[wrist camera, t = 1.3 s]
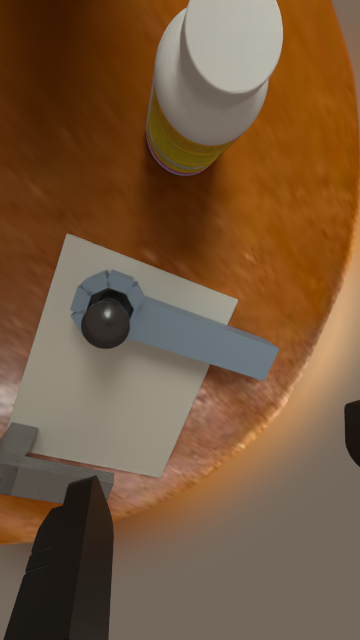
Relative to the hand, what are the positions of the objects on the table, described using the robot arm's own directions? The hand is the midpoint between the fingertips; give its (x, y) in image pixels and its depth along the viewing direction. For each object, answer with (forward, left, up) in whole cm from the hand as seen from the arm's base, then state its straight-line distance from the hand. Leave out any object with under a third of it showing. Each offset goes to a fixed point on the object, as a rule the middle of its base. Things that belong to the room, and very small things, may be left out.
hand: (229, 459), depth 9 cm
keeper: (+17, -5, -21) cm, 27 cm away
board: (+7, -2, -21) cm, 22 cm away
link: (+1, +2, -20) cm, 20 cm away
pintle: (+1, -5, -21) cm, 21 cm away
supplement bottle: (-15, -4, -21) cm, 26 cm away
